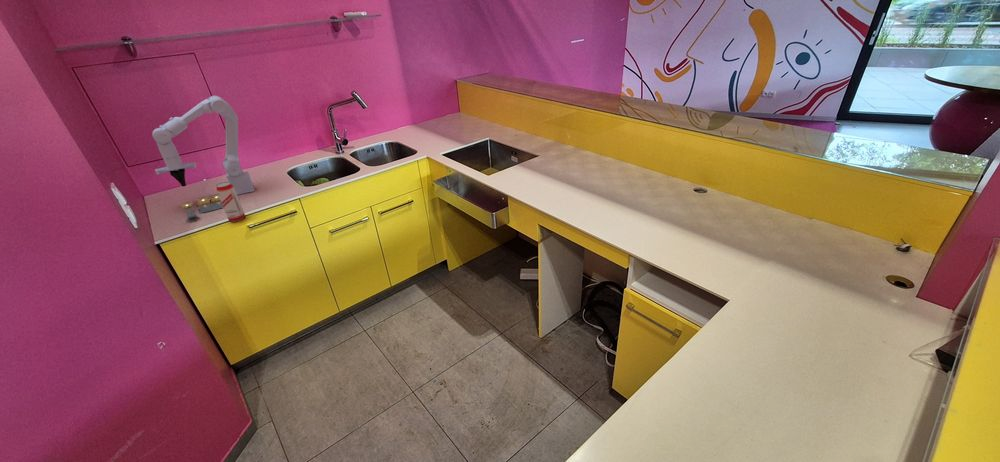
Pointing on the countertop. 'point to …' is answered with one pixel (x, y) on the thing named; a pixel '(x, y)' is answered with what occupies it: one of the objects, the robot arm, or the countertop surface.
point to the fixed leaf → (213, 198)
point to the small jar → (189, 210)
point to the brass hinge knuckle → (208, 205)
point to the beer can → (230, 201)
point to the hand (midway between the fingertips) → (184, 185)
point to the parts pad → (192, 220)
